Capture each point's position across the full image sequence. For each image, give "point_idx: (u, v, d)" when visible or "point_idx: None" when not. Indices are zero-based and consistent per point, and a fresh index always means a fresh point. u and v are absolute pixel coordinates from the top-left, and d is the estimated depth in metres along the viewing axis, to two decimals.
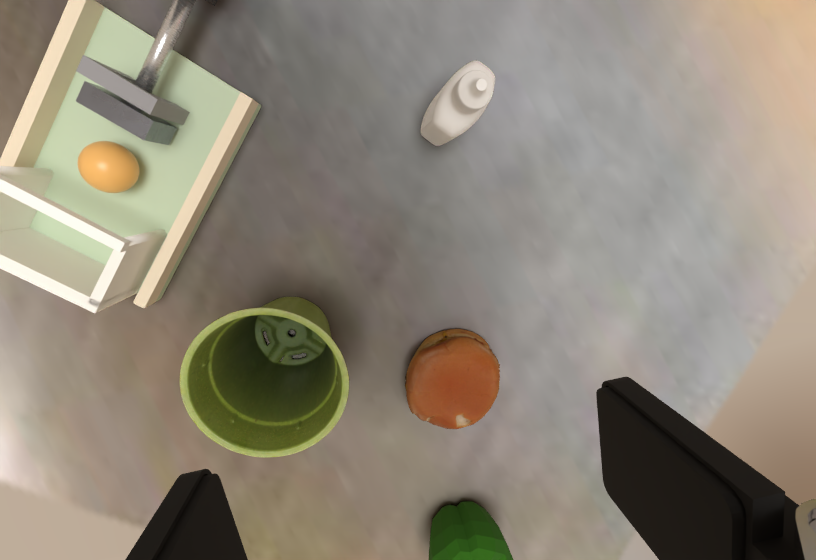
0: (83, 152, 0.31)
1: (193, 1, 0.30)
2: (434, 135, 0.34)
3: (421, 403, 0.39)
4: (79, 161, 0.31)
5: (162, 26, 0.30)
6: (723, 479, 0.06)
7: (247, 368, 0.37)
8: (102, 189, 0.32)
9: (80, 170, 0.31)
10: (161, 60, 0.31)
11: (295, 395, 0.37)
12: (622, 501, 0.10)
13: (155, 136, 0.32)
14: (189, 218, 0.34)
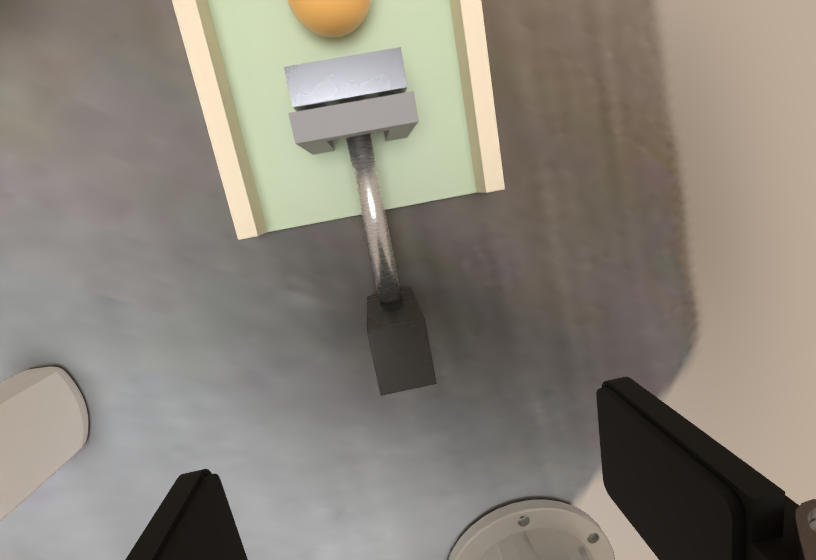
0: None
1: None
2: None
3: None
4: None
5: (384, 232, 0.21)
6: (722, 479, 0.06)
7: None
8: None
9: None
10: (359, 192, 0.20)
11: None
12: (622, 501, 0.10)
13: None
14: None
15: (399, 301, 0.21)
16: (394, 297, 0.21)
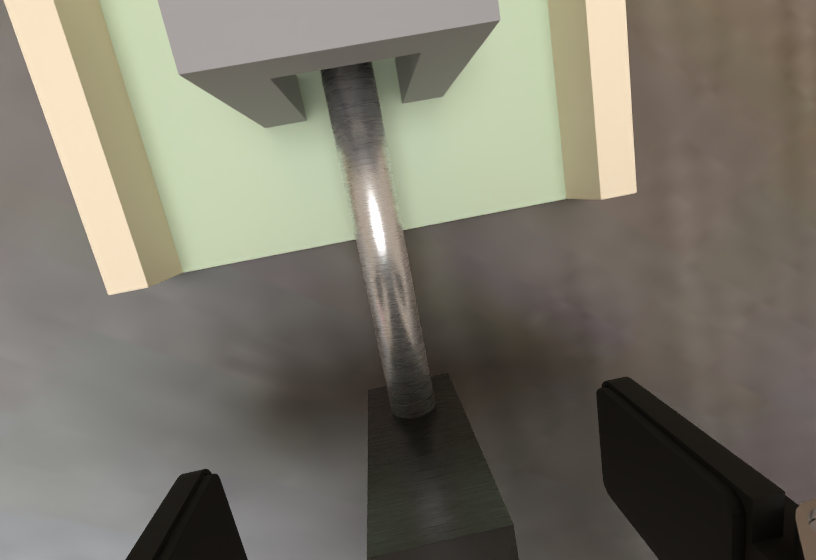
0: None
1: (386, 385, 0.11)
2: None
3: None
4: None
5: (403, 283, 0.10)
6: (723, 479, 0.06)
7: None
8: None
9: None
10: (352, 201, 0.10)
11: None
12: (622, 501, 0.10)
13: None
14: None
15: (431, 417, 0.11)
16: (422, 408, 0.11)
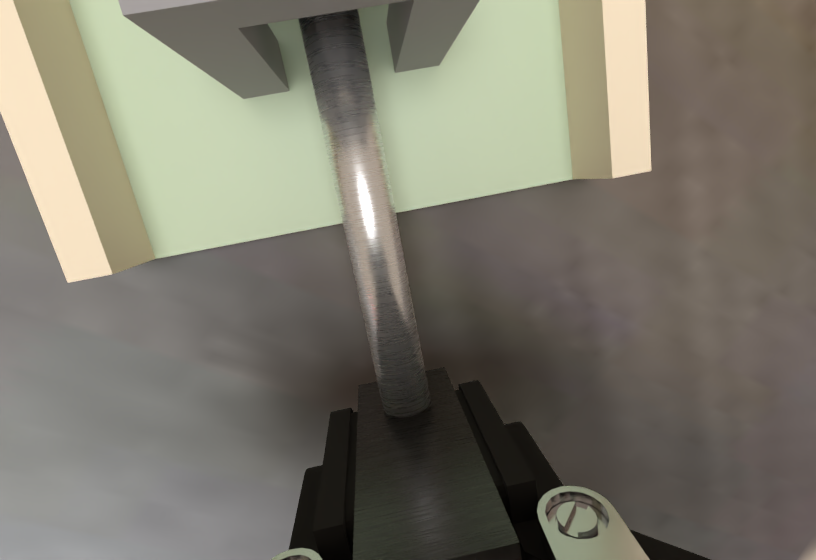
0: None
1: (377, 381, 0.10)
2: None
3: None
4: None
5: (395, 268, 0.09)
6: (497, 469, 0.08)
7: None
8: None
9: None
10: (338, 176, 0.09)
11: None
12: None
13: None
14: None
15: (426, 415, 0.10)
16: (416, 406, 0.10)
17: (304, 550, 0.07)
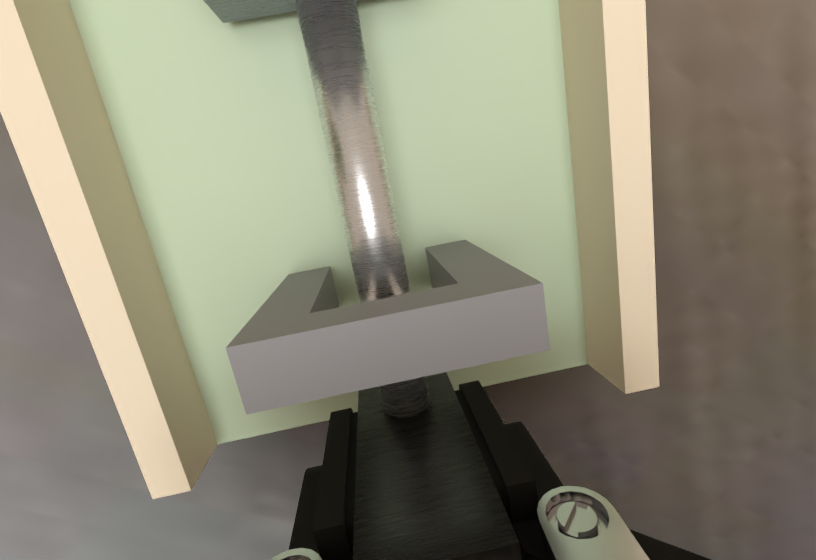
0: None
1: None
2: None
3: None
4: None
5: (395, 269, 0.09)
6: (497, 469, 0.08)
7: None
8: None
9: None
10: (338, 177, 0.09)
11: None
12: None
13: None
14: None
15: (426, 416, 0.10)
16: (416, 406, 0.10)
17: (304, 550, 0.07)
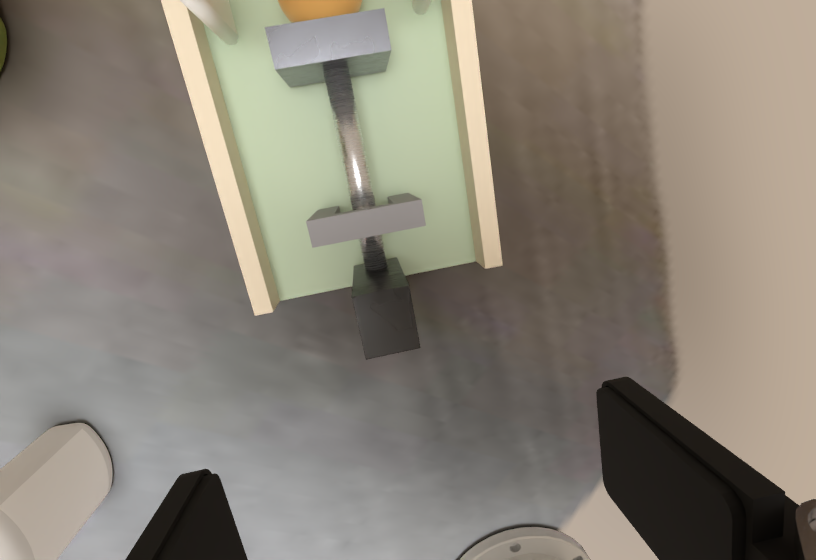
0: None
1: (362, 255, 0.22)
2: (14, 469, 0.22)
3: None
4: None
5: (369, 200, 0.21)
6: (723, 479, 0.06)
7: None
8: None
9: None
10: (344, 159, 0.20)
11: None
12: (622, 501, 0.10)
13: None
14: (192, 99, 0.20)
15: (384, 268, 0.21)
16: (380, 265, 0.22)
17: None
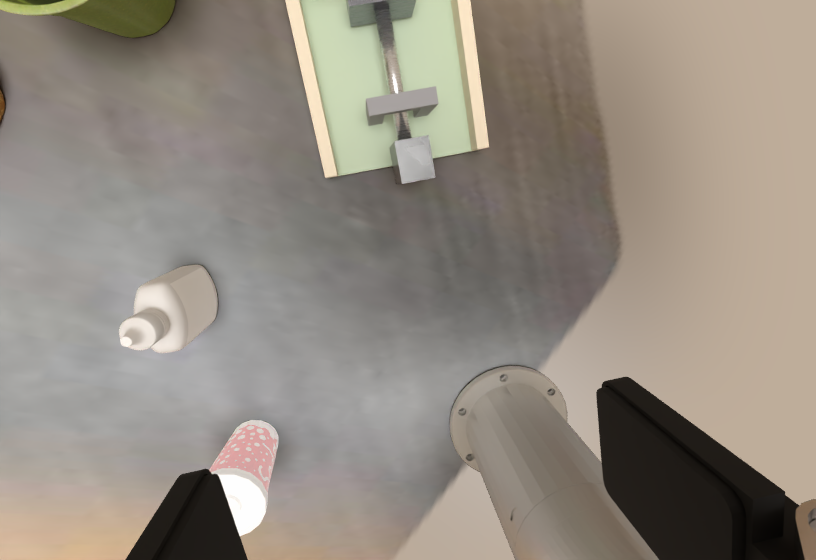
0: None
1: None
2: (170, 274, 0.33)
3: None
4: None
5: None
6: (723, 479, 0.06)
7: None
8: None
9: None
10: (386, 69, 0.32)
11: None
12: (622, 501, 0.10)
13: None
14: (293, 31, 0.32)
15: None
16: None
17: None
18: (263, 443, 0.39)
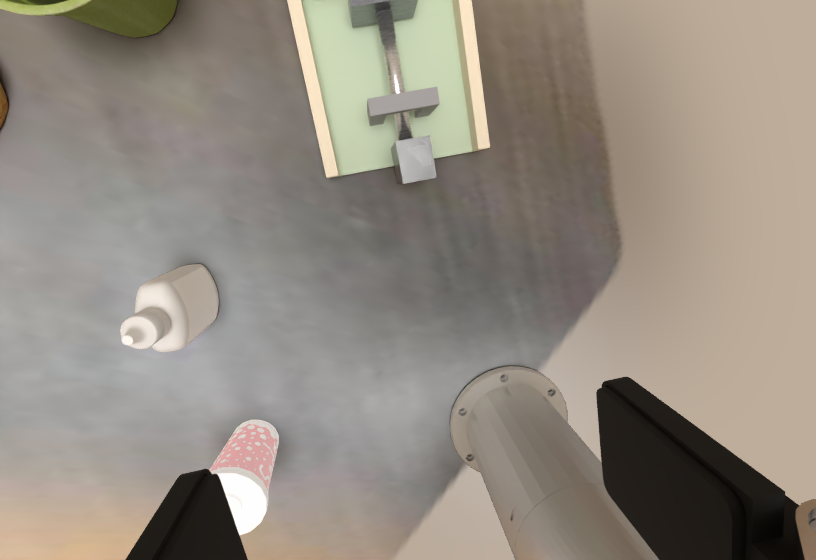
0: None
1: None
2: (171, 273, 0.33)
3: None
4: None
5: None
6: (723, 479, 0.06)
7: None
8: None
9: None
10: (388, 69, 0.32)
11: None
12: (622, 501, 0.10)
13: None
14: (295, 31, 0.32)
15: None
16: None
17: None
18: (264, 442, 0.39)
